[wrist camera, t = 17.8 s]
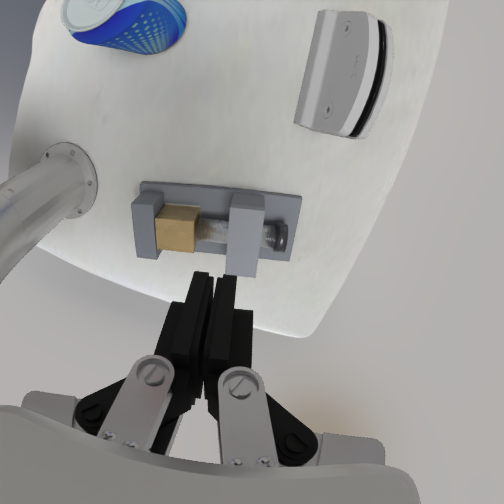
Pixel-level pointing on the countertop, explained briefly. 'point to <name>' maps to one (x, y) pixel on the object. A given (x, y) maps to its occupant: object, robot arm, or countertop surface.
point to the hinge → (346, 74)
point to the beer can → (125, 23)
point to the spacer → (177, 228)
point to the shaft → (219, 234)
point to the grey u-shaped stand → (219, 208)
